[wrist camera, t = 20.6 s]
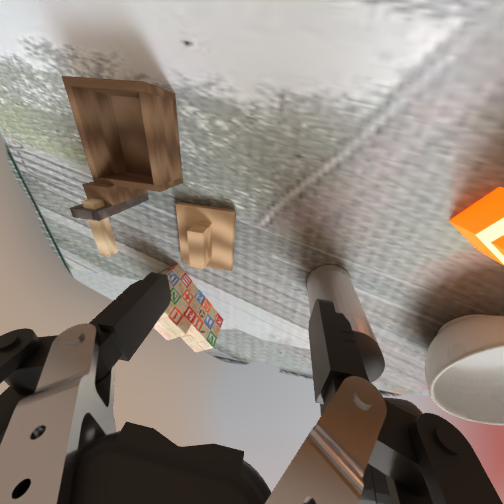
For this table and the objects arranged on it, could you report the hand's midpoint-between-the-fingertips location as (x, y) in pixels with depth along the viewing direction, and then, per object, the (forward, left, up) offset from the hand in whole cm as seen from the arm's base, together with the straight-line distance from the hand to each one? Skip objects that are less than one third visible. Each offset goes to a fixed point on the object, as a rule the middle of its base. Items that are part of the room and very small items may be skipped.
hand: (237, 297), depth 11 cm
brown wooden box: (+3, +25, -31) cm, 39 cm away
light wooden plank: (-9, +29, -21) cm, 37 cm away
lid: (-13, +13, -31) cm, 36 cm away
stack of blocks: (-32, +18, -31) cm, 48 cm away
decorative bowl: (-28, -49, -31) cm, 64 cm away
